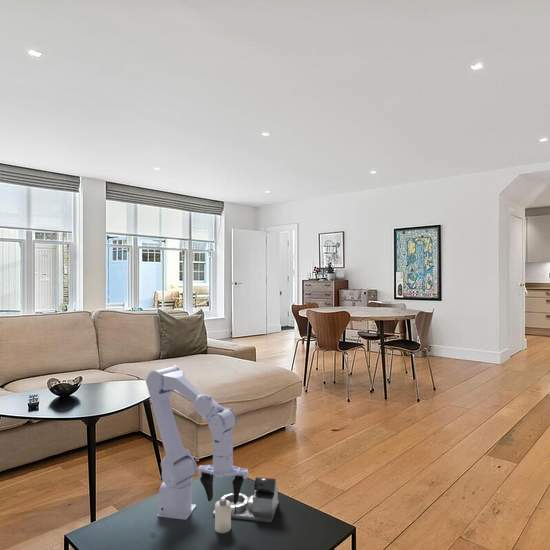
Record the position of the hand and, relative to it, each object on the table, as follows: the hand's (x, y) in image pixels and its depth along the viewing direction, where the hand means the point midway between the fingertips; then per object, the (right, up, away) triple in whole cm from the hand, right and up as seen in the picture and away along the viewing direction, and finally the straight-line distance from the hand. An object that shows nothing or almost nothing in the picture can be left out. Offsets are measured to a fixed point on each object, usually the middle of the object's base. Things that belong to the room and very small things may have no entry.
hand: (223, 500), depth 122 cm
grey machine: (+6, -8, +10) cm, 14 cm away
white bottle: (0, -8, 0) cm, 8 cm away
